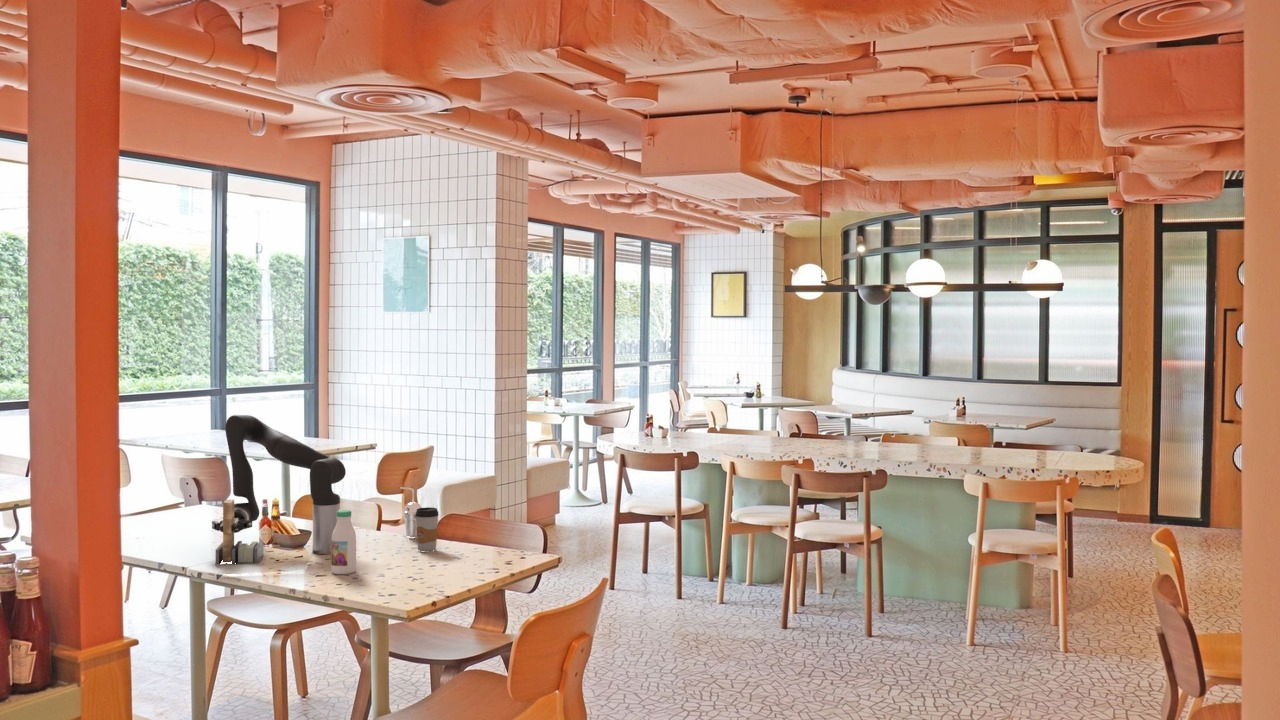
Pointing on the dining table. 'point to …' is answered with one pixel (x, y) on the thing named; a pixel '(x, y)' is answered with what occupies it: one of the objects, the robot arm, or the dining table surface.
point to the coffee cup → (426, 528)
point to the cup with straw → (410, 515)
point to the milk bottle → (343, 545)
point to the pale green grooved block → (246, 552)
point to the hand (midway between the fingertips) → (227, 528)
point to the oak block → (228, 530)
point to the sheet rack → (219, 553)
